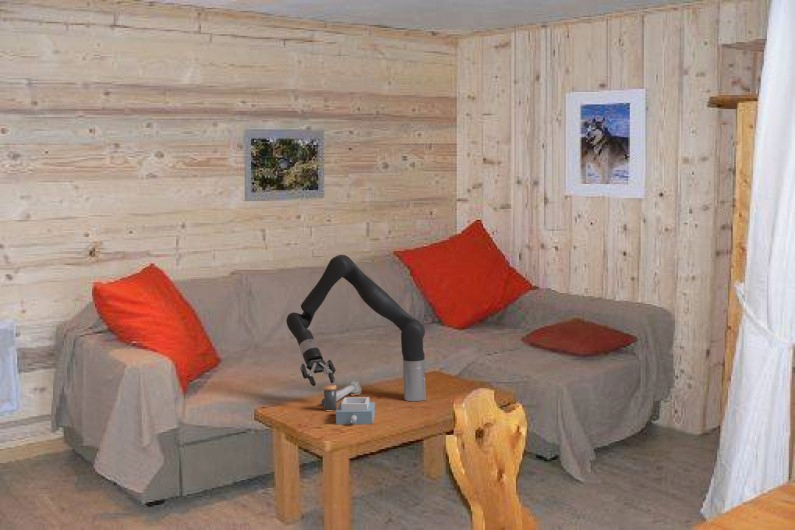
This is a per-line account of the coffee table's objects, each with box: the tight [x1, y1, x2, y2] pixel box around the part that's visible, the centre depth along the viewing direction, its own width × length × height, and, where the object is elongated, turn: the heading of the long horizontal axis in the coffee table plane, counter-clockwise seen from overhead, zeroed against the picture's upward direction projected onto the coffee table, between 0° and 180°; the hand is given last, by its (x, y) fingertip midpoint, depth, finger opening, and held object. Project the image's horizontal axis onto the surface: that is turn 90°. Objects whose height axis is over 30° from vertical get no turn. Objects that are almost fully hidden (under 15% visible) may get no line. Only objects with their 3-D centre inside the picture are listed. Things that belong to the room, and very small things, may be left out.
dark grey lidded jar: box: [322, 384, 338, 411], centre depth 367 cm, size 5×5×10 cm
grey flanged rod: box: [320, 380, 363, 406], centre depth 382 cm, size 5×7×25 cm
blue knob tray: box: [335, 396, 376, 425], centre depth 351 cm, size 14×17×8 cm
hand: (323, 383), depth 371 cm, fingers open, 8 cm apart
